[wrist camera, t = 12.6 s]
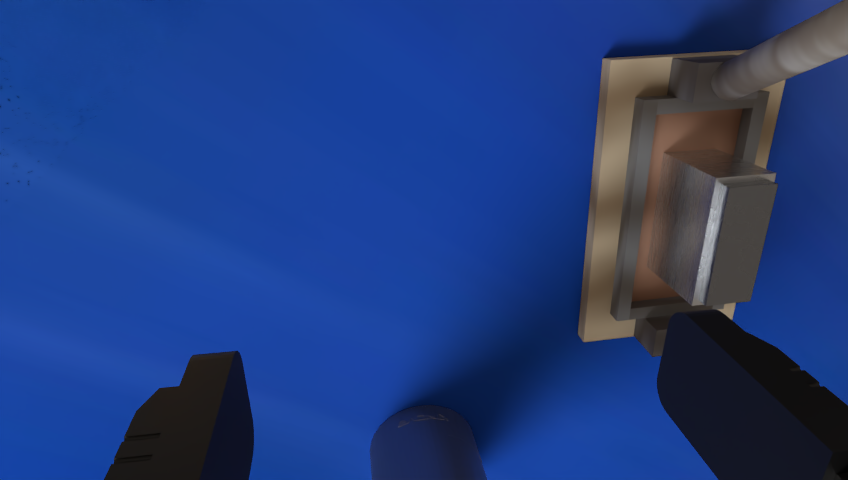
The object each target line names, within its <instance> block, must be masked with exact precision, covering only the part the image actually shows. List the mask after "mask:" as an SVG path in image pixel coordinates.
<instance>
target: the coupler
mask: <svg viewBox="0 0 848 480" xmlns="http://www.w3.org/2000/svg"><path fill="white" fill-rule="evenodd" d="M775 176H776V173H775V172H772V171H770V170H767V169H765V168H762V167H760V166H757V165H755V164H752V163H750V162H748V161H745V160H743V159H740V158H738V157H735V156H733V155H730V154H728V153H725V152H723V151H720V150H718V149H704V150H691V151H678V152H665V153H663V158H662V165H661V172H660V179H659V186H658V192H657V199H656V206H655V213H654V220H653V227H652V233H651V240H650V247H649V254H648V261H647V267H648V268H649V269H650V270H651V271H653V272H654V273H655V274H656V275H657V276H658V277H659V278H661V279H662V280H663V281H664V282H665V283H666V284H667V285H669V286H670V287H671V288H672V289H673V290H674V291H675V292H677V293H678V294H679V295H680V296H681V297H682V298H683V299H685V300H686V301H687V302H688V303H689V304H690V305H691V306H695V305H705V306H712V305H721V304H729V303H738V302H747V301H750V300H751V296H752V292H753V287H754V283H755V279H756V275H757V271H758V266H759V262H760V258H761V254H762V250H763V245H764V241H765V237H766V233H767V229H768V225H769V220H770V216H771V212H772V208H773V204H774V199H775V195H776V191H777V187H778V184H777V183H775V182H774V181H775Z"/></svg>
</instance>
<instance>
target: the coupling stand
mask: <svg viewBox="0 0 848 480" xmlns="http://www.w3.org/2000/svg"><path fill="white" fill-rule="evenodd" d="M847 54H848V0H844V1H842V2H840V3H838V4H836V5H834V6H832V7H830V8H828V9H826V10H824V11H823V12H821V13H819V14H817V15H815V16H813V17H811V18H809V19H807V20H805V21H803V22H801V23H799V24H797V25H796V26H794V27H792V28H790V29H788V30H786V31H784V32H782V33H780V34H778V35H776V36H774V37H772V38H771V39H769V40H767V41H765V42H763V43H761V44H759V45H757V46H755V47H753V48H751V49H749V50H737V51H720V52H703V53H686V54H668V55H651V56H634V57H617V58H603V60H602V72H601V83H600V94H599V105H598V116H597V127H596V138H595V149H594V160H593V171H592V182H591V193H590V205H589V216H588V227H587V238H586V249H585V260H584V271H583V282H582V293H581V304H580V315H579V326H578V335H579V337H580V338H581V339H582V341H583V342H590V341H598V340H607V339H615V338H623V337H632V336H635V337H636V339H637V340H638V341H639V342H640V343H641V344H642V345H643V347H644V348H645V349H646V350H647V351H648V352H649V353H650V354H651V356H652V357H655V356H662V352H663V348H664V343H665V338H666V333H667V328H668V324H669V320H670V318H671V317H672V315H674V314H675V313H677V312H688V311H699V310H710V309H716V310H719V311H721V312H722V313H724V314H725V315H726V316H727V317H728V318H730V319H731V320H732V318H733V314H734V309H735V305H736V303H729V304H721V305H712V306H705V305H695V306H691V305H690V304H689V303H688V302H687V301H686V300H685V299H683V298H682V297H681V296H680V295H679V294H678V293H677V292H675V291H674V290H673V289H672V288H671V287H670V286H669V285H667V284H666V283H665V282H664V281H663V280H662V279H661V278H659V277H658V276H657V275H656V274H655V273H654V272H653V271H651V270H650V269H649V268H648V267H647V261H648V254H649V247H650V240H651V233H652V227H653V220H654V213H655V206H656V199H657V192H658V186H659V179H660V172H661V165H662V158H663V153H665V152H678V151H691V150H704V149H718V150H720V151H723V152H725V153H728V154H730V155H733V156H735V157H738V158H740V159H743V160H745V161H748V162H750V163H752V164H755V165H757V166H760V167H762V168H765V169H766V165H767V161H768V157H769V152H770V148H771V143H772V139H773V134H774V130H775V125H776V121H777V116H778V112H779V107H780V103H781V98H782V94H783V89H784V85H785V80H786V79H788V78H790V77H793V76H795V75H798V74H800V73H803V72H805V71H808V70H810V69H813V68H815V67H818V66H820V65H822V64H825V63H827V62H830V61H832V60H835V59H837V58H840V57H842V56H845V55H847Z"/></svg>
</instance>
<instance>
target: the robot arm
mask: <svg viewBox="0 0 848 480" xmlns="http://www.w3.org/2000/svg"><path fill="white" fill-rule="evenodd" d="M657 389H658V394H659V398H660V401H661V403H662V406H663V407H664V409H665V411H666V412H667V414H668V415H669V416H670V417H671V419H672V420H673V421H674V423H675V424H676V425H677V426H678V428H679V429H680V430H681V432H682V433H683V434H684V436H685V437H686V438H687V439H688V441H689V442H690V443H691V445H692V446H693V447H694V448H695V450H696V451H697V452H698V454H699V455H700V456H701V457H702V459H703V460H704V461H705V463H706V464H707V465H708V466H709V468H710V469H711V470H712V472H713V473H714V474H715V476H716V477H717V478H718V479H719V480H848V406H847V405H846V404H845V403H844V402H843V401H841V400H840V399H839V398H838V397H837V396H835V395H834V394H833V393H832V392H830V391H829V390H828V389H827V388H826V387H824V386H823V387H820V385H819V382H818V381H817V380H816V379H815V378H813V377H812V376H811V375H810V374H809V373H807V372H806V371H805V370H802V371H801V370H800V366H799V365H798V364H796V363H795V362H794V361H793V360H791V359H790V358H789V357H788V356H787V355H785V354H784V353H783V352H782V351H780V350H779V349H778V348H777V347H775V346H773V345H771V344H769V343H767V342H765V341H763V340H761V339H759V338H757V337H755V336H753V335H751V334H749V333H746V332H745V331H744V330H743V329H741V328H740V327H739V326H738V325H737V324H736V323H734V322H733V321H732V320H731V319H730V318H728V317H727V316H726V315H725V314H724V313H722V312H721V311H719V310H716V309H710V310H699V311H688V312H677V313H675V314H674V315H672V317H671V318H670V320H669V324H668V328H667V333H666V338H665V343H664V348H663V352H662V357H661V362H660V367H659V372H658V377H657ZM124 438H125V440H124V442H122V443H121V445H120V447H119V449H118V451H117V453H116V456H115V458H114V464H111V466H110V468H109V471H108V473H107V475H106V477H105V479H104V480H249V474H250V469H251V463H252V457H253V447H254V429H253V419H252V413H251V407H250V402H249V396H248V391H247V385H246V380H245V374H244V368H243V363H242V358H241V355H240V353H239V352H238V351H232V352H221V353H209V354H198V355H193V356H192V357H191V358H190V360H189V363H188V365H187V368H186V370H185V373H184V376H183V378H182V381H181V383H180V386H177V387H166V388H159V389H158V390H157V391H156V392H155V393H154V394H153V395H152V396H151V397H150V398H149V399H148V400H147V401H146V402H145V403H144V404H143V405H142V406H141V407H140V408H139V409H138V410H137V411H136V413H135V415H134V417H133V419H132V422H131V424H130V426H129V428H128V430H127V432H126V434H125V436H124ZM370 459H371V472H372V480H487V477H486V474H485V471H484V468H483V465H482V461H481V458H480V455H479V452H478V448H477V445H476V442H475V439H474V436H473V433H472V430H471V427H470V425H469V424H468V422H467V421H466V420H465V419H464V418H463V417H462V416H461V415H460V414H458V413H457V412H455V411H453V410H451V409H448V408H445V407H442V406H434V405H423V406H416V407H411V408H408V409H405V410H403V411H400V412H398V413H396V414H395V415H393V416H391V417H390V418H388V419H387V420H386V421H385V422H384V423H383V424H382V425H381V426H380V427H379V428H378V430H377V431H376V433H375V434H374V437H373V439H372V441H371V446H370Z"/></svg>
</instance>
